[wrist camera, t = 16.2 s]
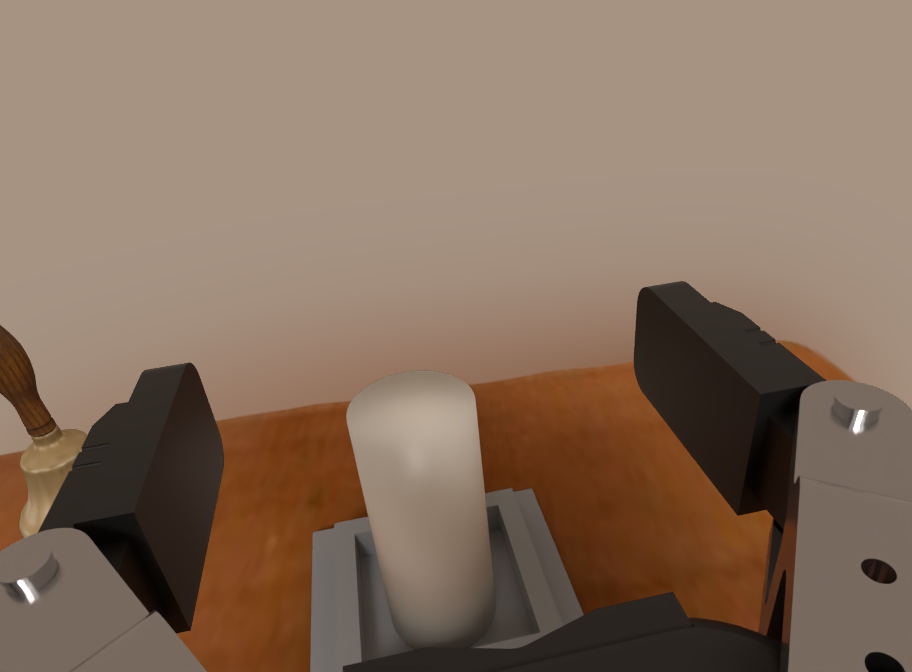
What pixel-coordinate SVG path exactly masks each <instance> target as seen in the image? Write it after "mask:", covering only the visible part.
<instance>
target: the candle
mask: <svg viewBox="0 0 912 672" xmlns="http://www.w3.org/2000/svg"><path fill="white" fill-rule="evenodd" d="M346 419H347V425H348V429H349V433H350V438H351V442H352V447H353V451H354V456H355V460H356V464H357V469H358V473H359V478H360V482H361V486H362V491H363V495H364V500H365V504H366V509H367V513H368V517H369V522H370V526H371V531H372V535H373V539H374V544H375V548H376V553H377V557H378V562H379V566H380V570H381V575H382V579H383V584H384V588H385V592H386V597H387V601H388V606H389V610H390V615H391V619H392V623H393V626H394V628H395V630H396V632H397V634H398V635H399V637H400V638H401V639H402V640H403V641H404V642H405V643H407V644H408V645H409V646H411V647H413V648H415V649H421V648H425V647H449V648H466V647H468V646H470V645H471V644H473V643H474V642H476V641H477V640H478V639H479V638H480V637H481V636H482V635H483V634H484V633H485V632H486V631H487V629H488V628H489V626H490V625H491V622H492V620H493V617H494V614H495V608H496V599H495V589H494V579H493V569H492V559H491V549H490V539H489V529H488V520H487V510H486V500H485V490H484V480H483V470H482V460H481V450H480V440H479V430H478V420H477V410H476V400H475V395H474V393H473V390H472V389H471V388H470V386H469V385H468V384H467V383H466V382H464V381H463V380H461V379H460V378H458V377H456V376H453V375H450V374H447V373H443V372H438V371H428V370H427V371H426V370H424V371H423V370H422V371H421V370H420V371H409V372H403V373H398V374H394V375H390V376H388V377H385V378H382V379H380V380H378V381H375V382H374V383H372V384H370V385H368V386H367V387H365V388H364V389H363V390H361V391H360V392H359V393H358V394H357V395H356V396H355V397H354V398H353V400H352V401H351V403H350V405H349V406H348V409H347V414H346Z"/></svg>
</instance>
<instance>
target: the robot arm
mask: <svg viewBox="0 0 912 672" xmlns="http://www.w3.org/2000/svg"><path fill="white" fill-rule="evenodd" d="M634 370H635V375H636V379H637V382H638V384H639V387H640V389H641V390H642V392H643V393H644V395H645V396H646V397H647V399H648V400H649V401H650V403H651V404H652V405H653V406H654V408H655V409H656V410H657V412H658V413H659V414H660V416H661V417H662V418H663V419H664V421H665V422H666V423H667V425H668V426H669V427H670V428H671V430H672V431H673V432H674V434H675V435H676V436H677V438H678V439H679V440H680V441H681V443H682V444H683V445H684V447H685V448H686V449H687V451H688V452H689V453H690V454H691V456H692V457H693V458H694V460H695V461H696V462H697V464H698V465H699V466H700V467H701V469H702V470H703V471H704V473H705V474H706V475H707V477H708V478H709V479H710V480H711V482H712V483H713V484H714V486H715V487H716V488H717V489H718V491H719V492H720V493H721V495H722V496H723V497H724V499H725V500H726V501H727V502H728V504H729V505H730V506H731V508H732V509H733V510H734V512H735V513H736V514H737V515H738V516H739V515H743V514H748V513H753V512H757V511H762V510H767V511H768V512H769V513H770V514H771V515H772V517H773V520H772V525H771V529H770V533H769V542H768V551H767V560H766V569H765V579H764V588H763V597H762V606H761V615H760V623H759V630H758V632H755V631H752V630H749V629H746V628H743V627H740V626H737V625H733V624H729V623H725V622H721V621H716V620H708V619H701V618H688V617H687V616H686V614H685V612H684V610H683V609H682V607H681V605H680V603H679V602H678V600H677V598H676V596H675V595H674V593H673V592H670V593H665V594H661V595H656V596H652V597H647V598H643V599H639V600H634V601H630V602H625V603H621V604H616V605H612V606H608V607H603V608H599V609H595V610H593V611H591V612H589V613H587V614H585V615H583V616H581V617H579V618H578V619H576V620H574V621H572V622H570V623H568V624H566V625H564V626H562V627H560V628H558V629H556V630H554V631H552V632H550V633H549V634H547V635H545V636H543V637H541V638H539V639H537V640H535V641H533V642H531V643H529V644H527V645H525V646H523V647H519V648H513V649H499V648H449V647H425V648H421V649H417V650H412V651H408V652H403V653H399V654H394V655H390V656H386V657H381V658H377V659H372V660H368V661H363V662H359V663H354V664H350V665H346V666H343V672H912V410H911V409H910V408H909V407H908V406H907V404H906V403H904V402H903V401H901V400H900V399H899V398H897V397H896V396H894V395H893V394H890V393H889V392H887V391H884V390H882V389H880V388H877V387H874V386H871V385H867V384H864V383H859V382H853V381H844V380H831V381H826V380H825V379H824V378H822V377H821V376H820V375H819V374H817V373H816V372H815V371H814V370H812V369H811V368H810V367H809V366H807V365H806V364H805V363H804V362H802V361H801V360H800V359H799V358H797V357H796V356H795V355H794V354H792V353H791V352H790V351H789V350H787V349H786V348H785V347H784V346H782V345H781V344H780V343H777V344H776V342H775V339H774V338H772V337H771V336H770V335H769V334H767V333H766V332H765V331H761V330H760V327H759V326H757V325H756V324H755V323H754V322H752V321H751V320H750V319H749V318H747V317H746V316H745V315H744V314H742V313H741V312H738V311H736V310H733V309H731V308H729V307H726V306H724V305H721V304H719V303H717V302H713V303H710V302H709V301H708V300H707V299H706V298H704V297H703V296H702V295H701V294H700V293H699V292H697V291H696V290H695V289H694V288H693V287H691V286H690V285H689V284H688V283H686V282H684V281H680V282H674V283H668V284H662V285H656V286H650V287H644V288H642V289H641V291H640V292H639V295H638V301H637V314H636V331H635V347H634ZM81 449H82V452H79V453H78V455H77V457H76V459H75V461H74V463H73V465H72V471H69V472H68V474H67V476H66V478H65V480H64V482H63V484H62V486H61V488H60V490H59V492H58V494H57V496H56V498H55V500H54V502H53V504H52V505H51V507H50V509H49V511H48V513H47V515H46V517H45V519H44V521H43V523H42V525H41V527H40V529H39V531H38V533H36V534H33V535H30V536H28V537H26V538H23V539H21V540H19V541H17V542H15V543H13V544H12V545H10V546H8V547H7V548H5V549H4V550H2V551H1V552H0V672H207V671H206V670H205V669H204V668H203V666H202V665H201V664H200V663H199V661H198V660H197V659H196V658H195V657H194V655H193V654H192V653H191V652H190V650H189V649H188V648H187V647H186V645H185V644H184V643H183V642H182V640H181V639H180V638H179V637H178V636H177V634H176V633H180V632H185V631H190V630H191V626H192V621H193V616H194V611H195V606H196V601H197V596H198V591H199V586H200V582H201V577H202V572H203V567H204V562H205V557H206V552H207V547H208V542H209V537H210V532H211V527H212V523H213V518H214V513H215V508H216V503H217V498H218V493H219V488H220V483H221V478H222V473H223V468H224V453H223V445H222V440H221V436H220V433H219V430H218V427H217V424H216V421H215V419H214V416H213V413H212V410H211V408H210V404H209V402H208V399H207V396H206V393H205V391H204V388H203V385H202V382H201V379H200V376H199V374H198V372H197V369H196V368H195V366H194V365H193V364H192V363H184V364H179V365H172V366H167V367H161V368H155V369H149V370H144V371H143V372H142V374H141V376H140V378H139V380H138V382H137V384H136V387H135V389H134V391H133V393H132V395H131V398H130V400H129V402H127V403H121V404H115V405H114V406H113V407H112V408H111V409H110V410H109V411H108V412H107V413H106V414H105V415H104V416H103V417H102V418H101V419H99V420H98V421H97V422H96V423H95V424H94V425H93V426H92V428H91V430H90V432H89V434H88V436H87V438H86V439H85V441H84V443H83V445H82V447H81Z"/></svg>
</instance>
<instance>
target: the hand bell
mask: <svg viewBox="0 0 912 672" xmlns="http://www.w3.org/2000/svg"><path fill="white" fill-rule="evenodd" d="M0 393H1V394H2V395H3V396H4V397H5V398H7V399H8V400H9V401H10V402H11V403H12V404H13V406H14V407H15V409H16V410H17V412H18V414H19V416H20V418H21V420H22V422H23V424H24V426H25V427H26V429H27V432H28V434H29V435H31V437H32V439H33V441H34V443H33V444H31V445H30V446H29V447H28V448H27V449H26V450H25V451H24V453H23V454H22V457H21V460H20V466H21V469H22V471H23V474H24V477H25V480H26V483H27V487H28V501H27V502H26V504H25V506H24V508H23V510H22V512H21V516H20V521H19V528H20V532H21V534H22V535H23V537H24V538H26V537H28V536H30V535H33V534H36V533H38V531H39V529H40V527H41V525H42V523H43V521H44V519H45V517H46V515H47V513H48V511H49V509H50V507H51V505H52V504H53V502H54V500H55V498H56V496H57V494H58V492H59V490H60V488H61V486H62V484H63V482H64V480H65V478H66V476H67V474H68V472H69V471H72V465H73V463H74V461H75V459H76V457H77V455H78V453H79V452H82V449H81V447H82V445H83V443H84V441H85V439H86V438H87V436H88V435H87V434H86V433H84V432H82V431H80V430H75V429H68V430H60V428H59V427H58V425H57V424H56V423H55V421H54V419H53V418H52V417H51V415H50V413H49V412H48V410H47V409H46V407H45V405H44V404H43V402H42V401H41V399H40V397H39V394H38V392H37V387H36V380H35V375H34V370H33V367H32V365H31V362H30V360H29V358H28V356H27V354H26V352H25V350H24V349H23V347H22V346H21V344H20V343H19V342H18V341H17V340H16V339H15V338H14V337H13V336H12V335H11V334H10V333H9V332H8V331H7V330H5V329H4V328H3V327H2V326H1V325H0Z"/></svg>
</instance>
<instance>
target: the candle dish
mask: <svg viewBox="0 0 912 672" xmlns="http://www.w3.org/2000/svg"><path fill="white" fill-rule="evenodd" d="M485 500H486V510H487V520H488V529H489V539H490V549H491V559H492V569H493V579H494V589H495V599H496V608H495V614H494V617H493V620H492V622H491V625H490V626H489V628H488V629H487V631H486V632H485V633H484V634H483V635H482V636H481V637H480V638H479V639H478V640H477V641H476V642H474V643H473V644H471V645H470V646H468V647H466V648H499V649H513V648H519V647H523V646H525V645H527V644H529V643H531V642H533V641H535V640H537V639H539V638H541V637H543V636H545V635H547V634H549V633H550V632H552V631H554V630H556V629H558V628H560V627H562V626H564V625H566V624H568V623H570V622H572V621H574V620H576V619H578V618H579V617H581V616H583V615H584V614H583V612H582V609H581V607H580V604H579V602H578V599H577V597H576V595H575V592H574V590H573V587H572V585H571V582H570V580H569V577H568V575H567V573H566V570H565V568H564V565H563V563H562V560H561V558H560V555H559V553H558V551H557V548H556V546H555V543H554V541H553V538H552V536H551V533H550V531H549V529H548V526H547V524H546V521H545V519H544V516H543V514H542V511H541V509H540V507H539V504H538V502H537V499H536V497H535V494H534V492H533V489H532V488H531V489H526V490H521V491H516V492H513V490H512V488H508V489H503V490H498V491H493V492H488V493H485ZM412 650H417V649H415V648H413V647H411V646H409V645H408V644H407V643H405V642H404V641H403V640H402V639H401V638H400V637H399V635H398V634H397V632H396V630H395V628H394V626H393V623H392V619H391V615H390V610H389V606H388V601H387V597H386V592H385V588H384V584H383V579H382V575H381V570H380V566H379V562H378V557H377V553H376V548H375V544H374V539H373V535H372V531H371V526H370V522H369V517H363V518H358V519H353V520H348V521H343V522H338V523H334V528H332V529H327V530H322V531H317V532H313V551H312V605H311V658H310V672H343V666H346V665H350V664H354V663H359V662H363V661H368V660H372V659H377V658H381V657H386V656H390V655H394V654H399V653H403V652H408V651H412Z"/></svg>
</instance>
